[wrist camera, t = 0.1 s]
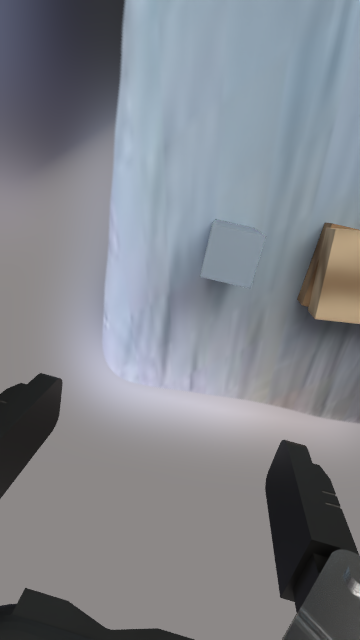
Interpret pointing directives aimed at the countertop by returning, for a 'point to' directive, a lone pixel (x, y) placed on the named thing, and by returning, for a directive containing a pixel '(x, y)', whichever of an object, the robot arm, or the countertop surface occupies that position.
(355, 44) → the countertop surface
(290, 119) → the countertop surface
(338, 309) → the tower top
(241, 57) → the countertop surface
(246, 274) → the pillar
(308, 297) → the tower base
